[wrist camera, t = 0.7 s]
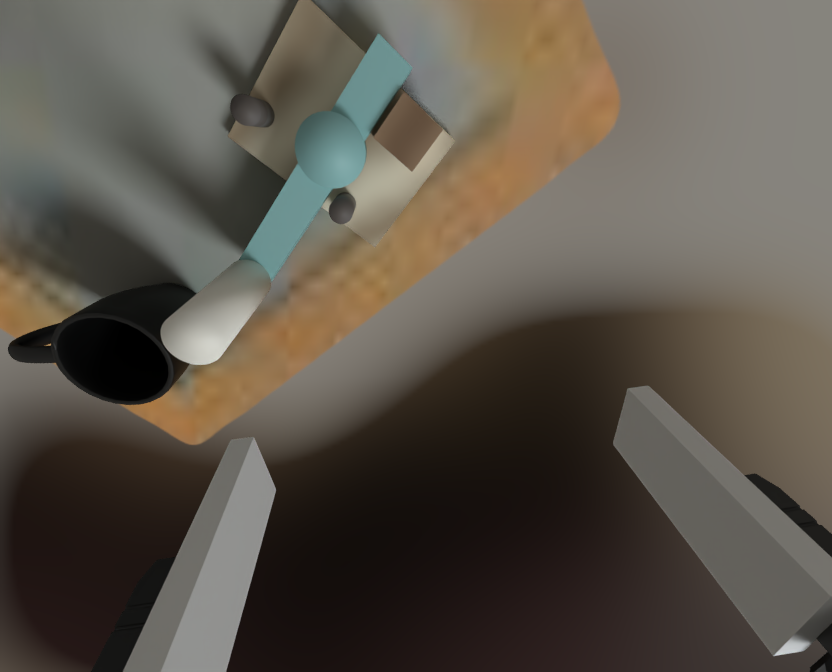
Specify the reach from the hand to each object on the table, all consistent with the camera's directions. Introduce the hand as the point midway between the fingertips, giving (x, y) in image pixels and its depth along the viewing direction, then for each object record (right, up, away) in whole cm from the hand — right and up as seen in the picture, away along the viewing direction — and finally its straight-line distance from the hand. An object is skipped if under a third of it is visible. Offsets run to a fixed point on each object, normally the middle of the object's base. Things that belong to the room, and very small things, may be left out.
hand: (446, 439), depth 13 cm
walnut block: (-2, +20, +16) cm, 25 cm away
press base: (-7, +20, +17) cm, 27 cm away
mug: (-26, +6, +22) cm, 35 cm away
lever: (-9, +16, +16) cm, 24 cm away
